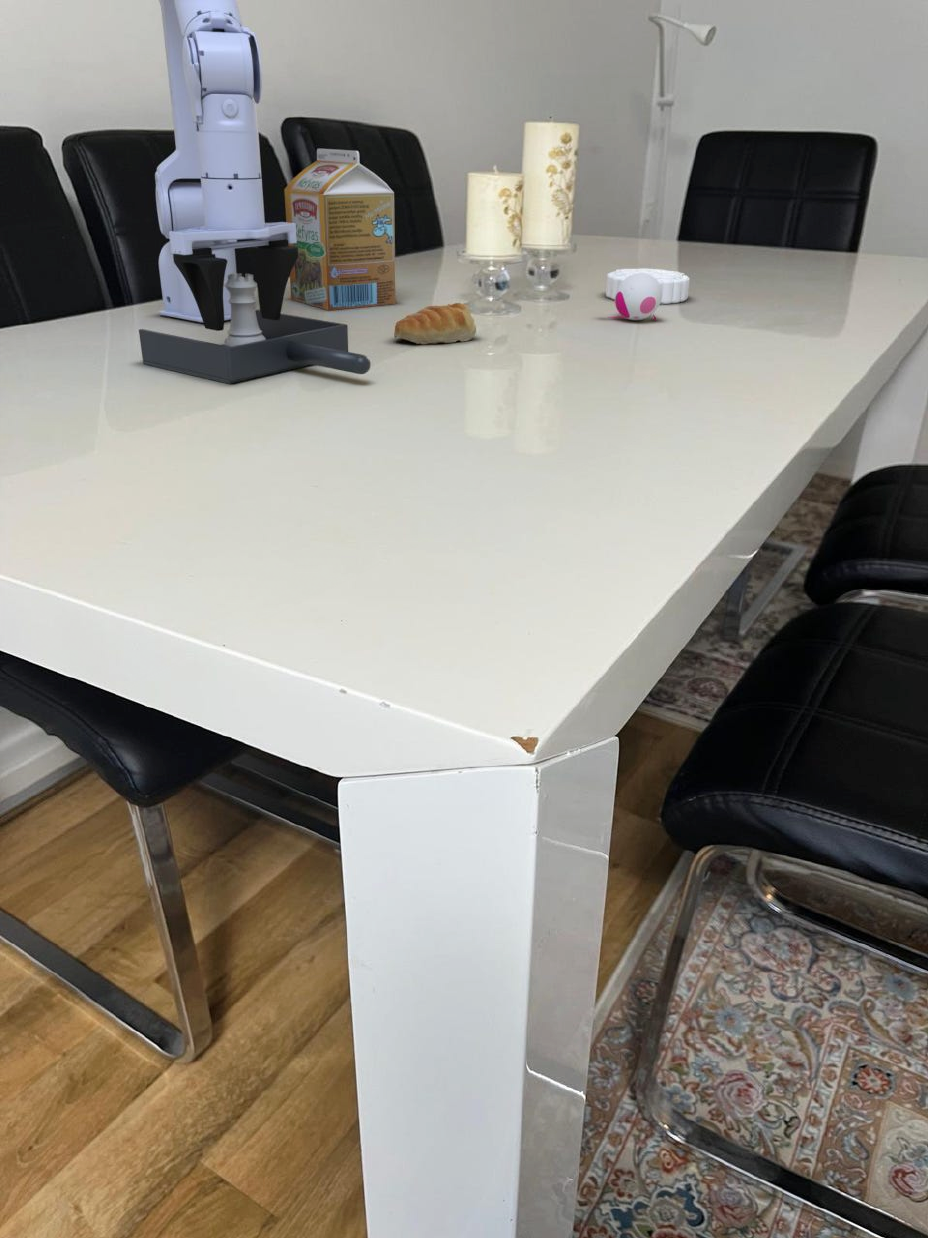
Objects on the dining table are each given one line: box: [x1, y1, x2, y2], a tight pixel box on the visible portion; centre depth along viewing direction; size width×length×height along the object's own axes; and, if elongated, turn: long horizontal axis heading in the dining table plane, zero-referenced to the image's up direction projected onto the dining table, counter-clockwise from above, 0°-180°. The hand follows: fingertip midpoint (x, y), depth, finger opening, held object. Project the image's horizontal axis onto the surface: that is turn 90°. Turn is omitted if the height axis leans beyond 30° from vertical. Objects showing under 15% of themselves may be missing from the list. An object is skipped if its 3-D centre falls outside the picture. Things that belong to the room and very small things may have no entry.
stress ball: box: [608, 273, 662, 322], centre depth 124 cm, size 8×8×7 cm
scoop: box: [138, 309, 372, 385], centre depth 96 cm, size 23×16×3 cm
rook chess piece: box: [224, 272, 266, 347], centre depth 98 cm, size 4×4×8 cm
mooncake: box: [605, 267, 691, 305], centre depth 141 cm, size 12×12×4 cm
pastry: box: [393, 302, 477, 345], centre depth 110 cm, size 9×7×4 cm
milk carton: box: [283, 148, 396, 312], centre depth 129 cm, size 11×11×19 cm
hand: (243, 323), depth 98 cm, fingers open, 7 cm apart
